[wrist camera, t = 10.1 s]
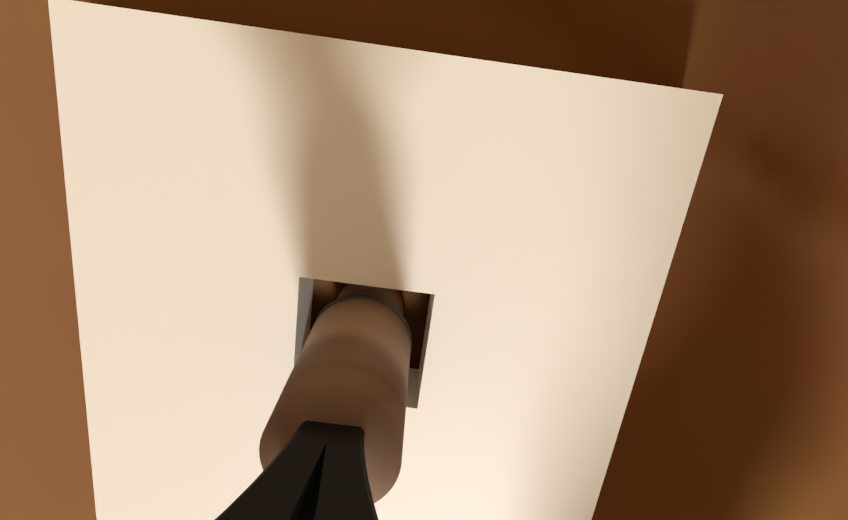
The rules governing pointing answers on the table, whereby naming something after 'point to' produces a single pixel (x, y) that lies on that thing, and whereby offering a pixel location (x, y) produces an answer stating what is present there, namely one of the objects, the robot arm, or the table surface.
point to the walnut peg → (351, 380)
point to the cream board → (359, 252)
